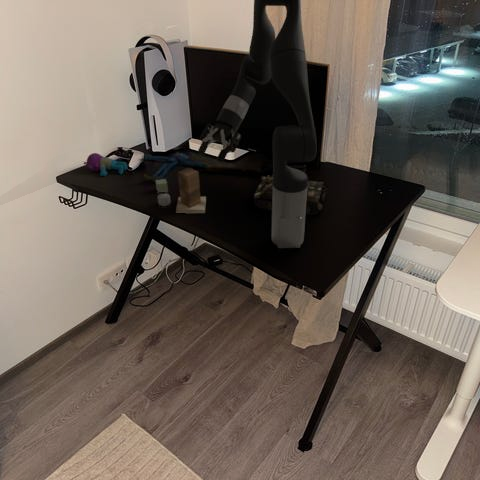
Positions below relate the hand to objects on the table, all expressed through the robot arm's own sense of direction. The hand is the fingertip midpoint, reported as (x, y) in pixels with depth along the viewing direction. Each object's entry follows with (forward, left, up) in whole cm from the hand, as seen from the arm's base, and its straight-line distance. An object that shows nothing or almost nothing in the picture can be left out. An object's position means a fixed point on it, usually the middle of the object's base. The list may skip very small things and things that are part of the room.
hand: (209, 157), depth 146 cm
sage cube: (+5, +17, -14) cm, 23 cm away
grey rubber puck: (-5, +15, -14) cm, 21 cm away
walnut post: (-7, +6, -13) cm, 16 cm away
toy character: (+22, +17, -15) cm, 32 cm away
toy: (+24, +41, -14) cm, 49 cm away
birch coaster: (-7, +6, -14) cm, 17 cm away
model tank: (-6, -26, -14) cm, 30 cm away
